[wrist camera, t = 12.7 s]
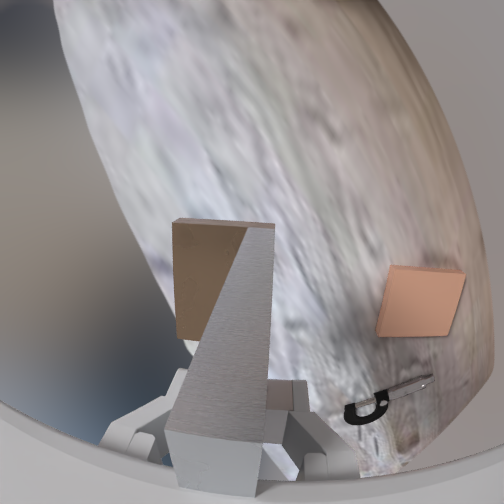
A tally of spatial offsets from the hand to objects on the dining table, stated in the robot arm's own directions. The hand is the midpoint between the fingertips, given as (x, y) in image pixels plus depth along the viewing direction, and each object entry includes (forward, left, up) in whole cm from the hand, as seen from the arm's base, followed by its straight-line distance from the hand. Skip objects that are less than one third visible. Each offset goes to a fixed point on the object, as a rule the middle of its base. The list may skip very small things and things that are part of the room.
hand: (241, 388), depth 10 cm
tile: (+7, +15, -24) cm, 29 cm away
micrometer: (+25, +21, -25) cm, 41 cm away
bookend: (0, -2, -10) cm, 10 cm away
